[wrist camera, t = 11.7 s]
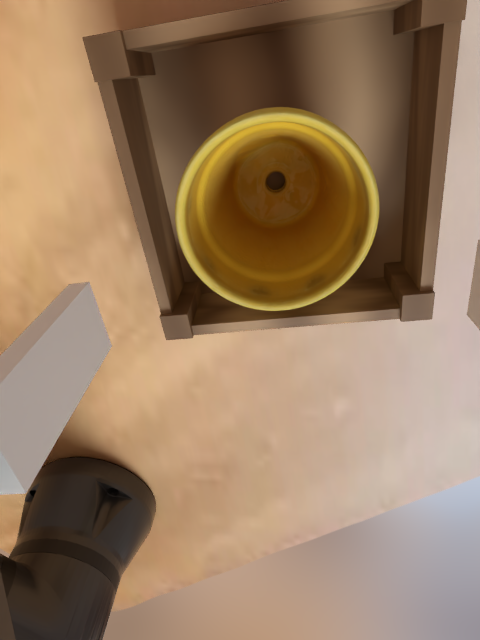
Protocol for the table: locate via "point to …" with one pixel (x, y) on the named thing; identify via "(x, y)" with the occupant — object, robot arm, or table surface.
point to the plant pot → (277, 209)
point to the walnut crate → (302, 93)
